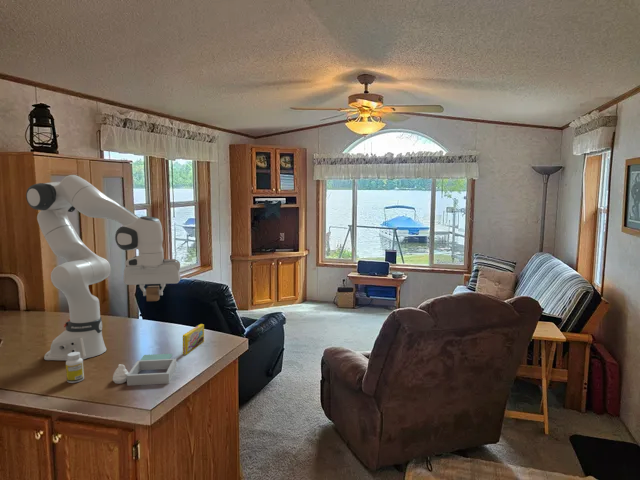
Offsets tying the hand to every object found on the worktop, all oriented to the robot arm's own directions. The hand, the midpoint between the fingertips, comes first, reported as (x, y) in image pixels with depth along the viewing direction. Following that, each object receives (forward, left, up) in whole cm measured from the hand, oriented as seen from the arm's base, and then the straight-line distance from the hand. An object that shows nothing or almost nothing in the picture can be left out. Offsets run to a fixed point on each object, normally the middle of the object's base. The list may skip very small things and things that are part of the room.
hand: (153, 295), depth 174 cm
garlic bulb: (-9, -15, -27) cm, 32 cm away
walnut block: (0, 0, -2) cm, 2 cm away
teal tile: (-1, +3, -27) cm, 27 cm away
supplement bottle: (-25, -12, -27) cm, 39 cm away
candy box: (+12, +16, -27) cm, 34 cm away
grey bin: (+2, -12, -27) cm, 30 cm away
